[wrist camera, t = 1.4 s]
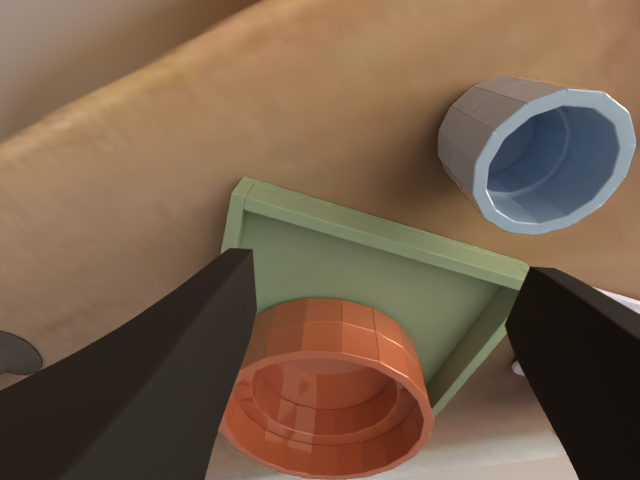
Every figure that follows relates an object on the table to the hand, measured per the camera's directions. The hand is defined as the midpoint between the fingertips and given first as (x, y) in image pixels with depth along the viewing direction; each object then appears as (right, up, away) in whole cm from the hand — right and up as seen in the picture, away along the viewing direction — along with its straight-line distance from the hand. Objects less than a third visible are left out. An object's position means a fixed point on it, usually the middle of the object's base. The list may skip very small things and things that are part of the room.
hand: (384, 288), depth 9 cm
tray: (-1, -6, +15) cm, 16 cm away
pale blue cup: (+6, +6, +7) cm, 11 cm away
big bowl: (-1, -8, +16) cm, 17 cm away
